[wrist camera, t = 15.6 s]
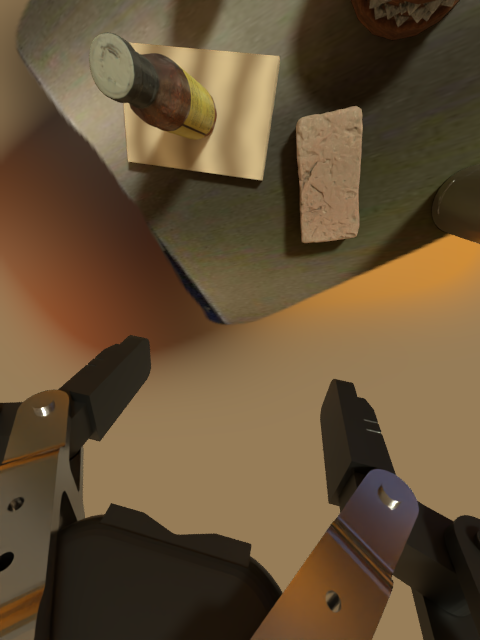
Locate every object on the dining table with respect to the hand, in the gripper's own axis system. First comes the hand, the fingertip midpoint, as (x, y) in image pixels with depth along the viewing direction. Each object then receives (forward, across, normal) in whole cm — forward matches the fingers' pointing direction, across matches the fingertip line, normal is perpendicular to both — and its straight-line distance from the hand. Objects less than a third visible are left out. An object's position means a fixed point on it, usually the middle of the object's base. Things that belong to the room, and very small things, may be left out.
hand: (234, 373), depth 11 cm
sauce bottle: (+36, +15, -14) cm, 42 cm away
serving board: (+38, +15, -14) cm, 43 cm away
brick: (+38, -5, -8) cm, 40 cm away
